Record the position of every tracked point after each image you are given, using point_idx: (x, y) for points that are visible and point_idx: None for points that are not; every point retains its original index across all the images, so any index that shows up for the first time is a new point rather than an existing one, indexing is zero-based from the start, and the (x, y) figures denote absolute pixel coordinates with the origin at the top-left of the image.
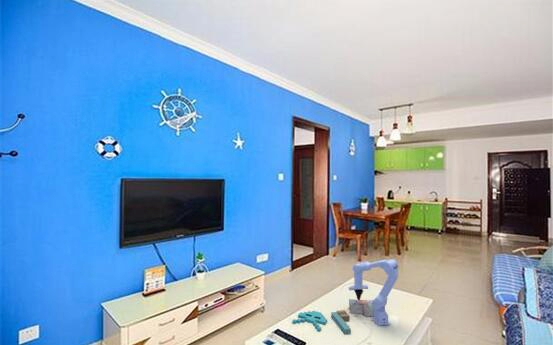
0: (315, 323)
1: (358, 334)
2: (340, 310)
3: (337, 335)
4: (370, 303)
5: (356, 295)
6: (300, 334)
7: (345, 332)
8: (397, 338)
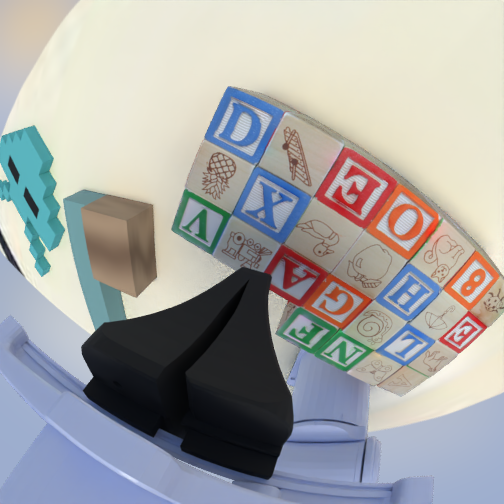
0: (29, 239)
1: None
2: (100, 214)
3: (90, 318)
4: (413, 307)
5: (211, 292)
6: (17, 253)
7: None
8: None
